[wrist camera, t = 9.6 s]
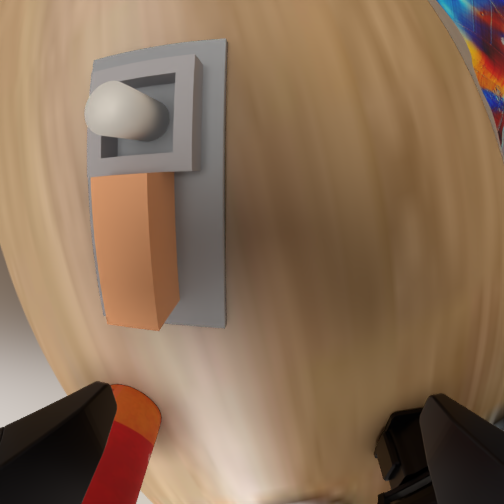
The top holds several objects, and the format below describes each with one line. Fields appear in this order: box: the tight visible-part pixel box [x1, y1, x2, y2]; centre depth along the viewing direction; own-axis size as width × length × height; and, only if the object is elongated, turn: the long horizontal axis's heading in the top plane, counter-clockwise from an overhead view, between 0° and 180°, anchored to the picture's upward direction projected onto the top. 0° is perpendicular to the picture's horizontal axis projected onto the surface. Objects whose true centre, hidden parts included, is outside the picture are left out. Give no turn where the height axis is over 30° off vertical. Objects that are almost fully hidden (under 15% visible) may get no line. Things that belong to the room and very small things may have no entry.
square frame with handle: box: [87, 54, 204, 331], centre depth 15 cm, size 14×6×4 cm, turn 179°
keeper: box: [85, 39, 227, 328], centre depth 15 cm, size 9×18×6 cm, turn 179°
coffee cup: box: [82, 384, 161, 504], centre depth 16 cm, size 8×8×15 cm
